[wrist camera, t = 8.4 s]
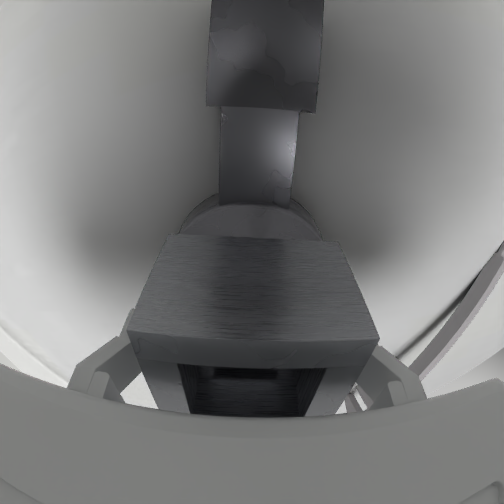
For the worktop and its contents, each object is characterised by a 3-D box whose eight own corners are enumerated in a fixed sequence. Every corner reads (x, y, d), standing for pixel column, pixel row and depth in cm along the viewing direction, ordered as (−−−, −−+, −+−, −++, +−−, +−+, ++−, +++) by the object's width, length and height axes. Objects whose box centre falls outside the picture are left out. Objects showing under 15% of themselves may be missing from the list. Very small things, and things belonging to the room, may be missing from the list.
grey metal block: (169, 233, 11) (126, 329, 7) (337, 242, 11) (379, 338, 7) (184, 344, 14) (168, 428, 10) (308, 348, 15) (321, 432, 10)
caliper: (350, 394, 25) (361, 448, 20) (342, 393, 25) (353, 448, 19) (506, 242, 15) (553, 291, 10) (502, 236, 15) (551, 286, 10)
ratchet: (308, 311, 18) (324, 391, 13) (183, 306, 18) (164, 386, 13) (354, 18, 9) (421, -15, 4) (175, 6, 9) (123, -40, 4)
